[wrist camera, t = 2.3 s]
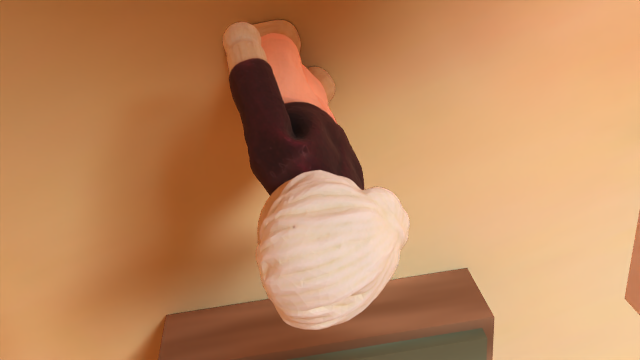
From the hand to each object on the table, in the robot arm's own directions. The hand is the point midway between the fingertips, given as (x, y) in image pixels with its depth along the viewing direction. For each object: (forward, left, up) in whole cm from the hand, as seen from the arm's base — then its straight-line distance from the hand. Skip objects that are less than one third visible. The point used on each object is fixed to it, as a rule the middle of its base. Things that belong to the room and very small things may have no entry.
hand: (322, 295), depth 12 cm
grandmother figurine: (0, 0, -12) cm, 12 cm away
